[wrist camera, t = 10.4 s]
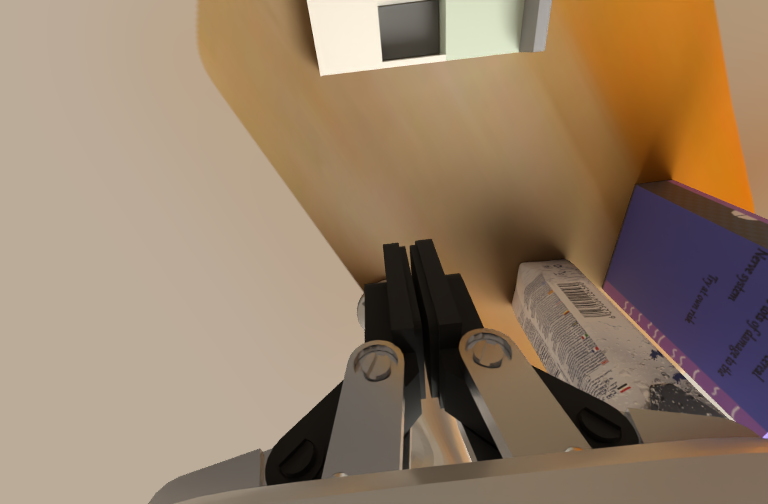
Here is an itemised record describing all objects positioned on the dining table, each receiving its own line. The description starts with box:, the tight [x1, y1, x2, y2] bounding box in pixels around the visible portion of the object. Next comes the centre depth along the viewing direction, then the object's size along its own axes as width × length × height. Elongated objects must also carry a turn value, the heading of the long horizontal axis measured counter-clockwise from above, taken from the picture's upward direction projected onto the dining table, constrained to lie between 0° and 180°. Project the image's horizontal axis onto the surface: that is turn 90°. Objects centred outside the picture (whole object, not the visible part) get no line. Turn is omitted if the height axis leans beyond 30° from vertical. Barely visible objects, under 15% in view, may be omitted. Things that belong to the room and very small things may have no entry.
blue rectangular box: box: [602, 180, 768, 438], centre depth 36 cm, size 17×5×24 cm, turn 7°
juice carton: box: [512, 259, 728, 419], centre depth 38 cm, size 9×10×27 cm
